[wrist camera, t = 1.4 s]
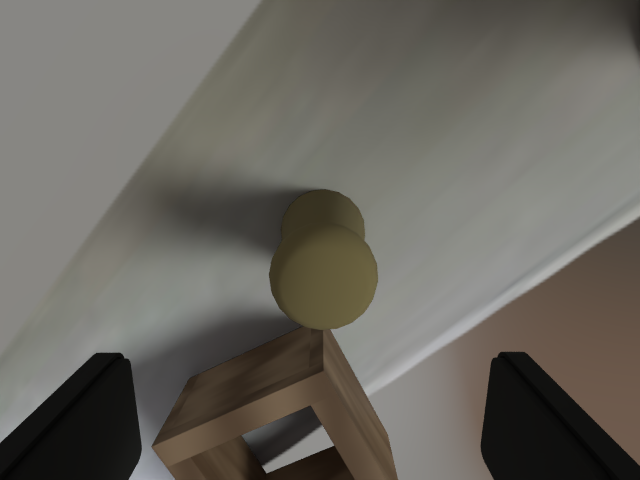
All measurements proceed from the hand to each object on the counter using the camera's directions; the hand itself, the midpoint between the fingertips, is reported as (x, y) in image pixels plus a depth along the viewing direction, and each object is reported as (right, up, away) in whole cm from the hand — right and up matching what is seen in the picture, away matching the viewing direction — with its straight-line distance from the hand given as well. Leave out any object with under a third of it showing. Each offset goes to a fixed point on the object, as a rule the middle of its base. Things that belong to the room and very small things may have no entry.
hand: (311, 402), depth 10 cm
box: (-2, -10, +21) cm, 23 cm away
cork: (0, +5, +18) cm, 18 cm away
